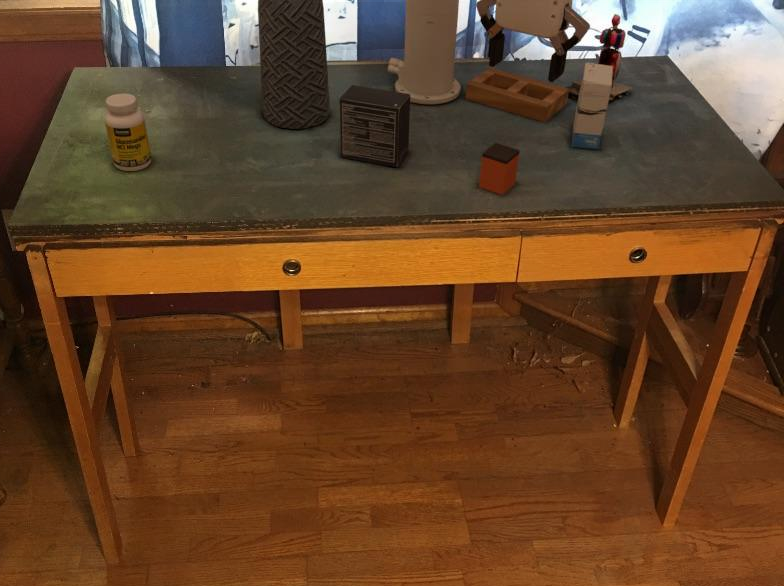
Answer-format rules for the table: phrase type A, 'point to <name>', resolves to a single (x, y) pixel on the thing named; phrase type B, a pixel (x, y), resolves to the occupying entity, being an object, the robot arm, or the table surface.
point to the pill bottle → (127, 133)
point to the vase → (293, 62)
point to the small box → (374, 125)
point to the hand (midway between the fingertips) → (524, 71)
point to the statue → (608, 58)
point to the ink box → (592, 106)
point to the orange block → (499, 168)
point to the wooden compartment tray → (517, 94)
